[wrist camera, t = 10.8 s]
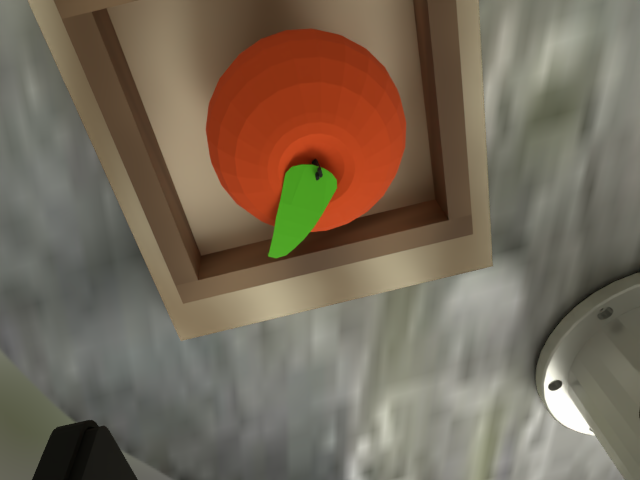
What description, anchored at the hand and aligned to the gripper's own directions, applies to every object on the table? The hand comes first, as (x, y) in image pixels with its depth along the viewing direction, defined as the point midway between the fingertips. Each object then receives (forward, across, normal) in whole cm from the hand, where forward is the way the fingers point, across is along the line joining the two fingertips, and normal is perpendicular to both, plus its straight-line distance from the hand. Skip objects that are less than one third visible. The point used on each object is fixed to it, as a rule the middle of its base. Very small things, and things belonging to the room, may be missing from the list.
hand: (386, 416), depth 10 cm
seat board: (+17, +1, -1) cm, 17 cm away
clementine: (+16, +1, -1) cm, 16 cm away
